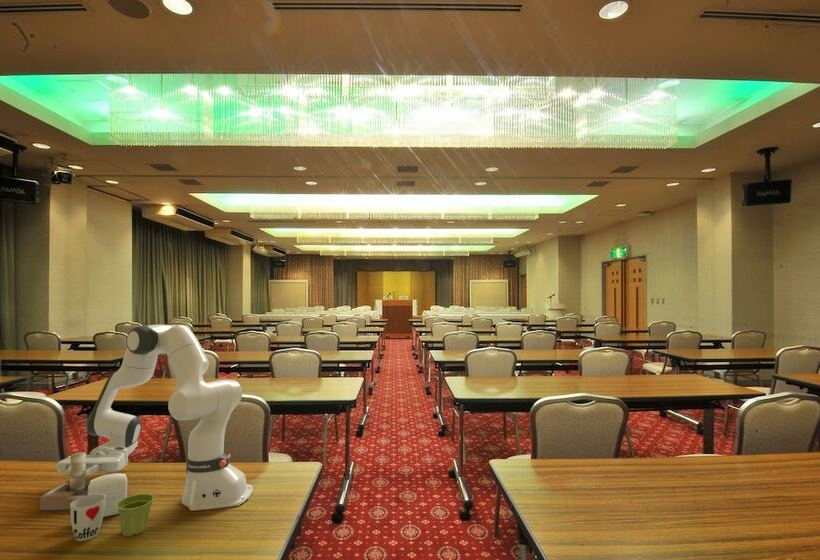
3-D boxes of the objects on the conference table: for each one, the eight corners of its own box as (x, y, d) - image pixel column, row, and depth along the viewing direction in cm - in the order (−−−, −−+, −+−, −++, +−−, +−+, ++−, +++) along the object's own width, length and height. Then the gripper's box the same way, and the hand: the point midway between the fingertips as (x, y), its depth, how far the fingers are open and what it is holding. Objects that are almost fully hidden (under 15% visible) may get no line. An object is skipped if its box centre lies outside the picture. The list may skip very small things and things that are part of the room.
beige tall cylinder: (92, 491, 145) (93, 450, 146) (80, 500, 139) (81, 457, 140) (74, 492, 145) (75, 451, 145) (61, 500, 139) (62, 458, 139)
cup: (64, 546, 116) (65, 509, 116) (74, 531, 123) (75, 496, 124) (100, 540, 119) (101, 504, 119) (107, 525, 126) (108, 491, 127)
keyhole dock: (115, 491, 148) (115, 479, 149) (92, 508, 136) (92, 495, 137) (67, 492, 147) (68, 480, 147) (39, 510, 135) (40, 496, 136)
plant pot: (160, 523, 128) (161, 494, 128) (136, 541, 119) (137, 510, 119) (133, 521, 129) (134, 492, 130) (106, 538, 120) (107, 507, 120)
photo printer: (126, 507, 138) (127, 468, 138) (126, 513, 134) (127, 473, 134) (86, 516, 132) (88, 476, 132) (85, 522, 128) (87, 481, 129)
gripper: (73, 449, 155) (43, 464, 141) (132, 448, 156) (107, 463, 142) (73, 466, 154) (43, 483, 141) (131, 465, 156) (107, 482, 142)
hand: (76, 473), depth 141 cm, fingers closed on beige tall cylinder, 4 cm apart
